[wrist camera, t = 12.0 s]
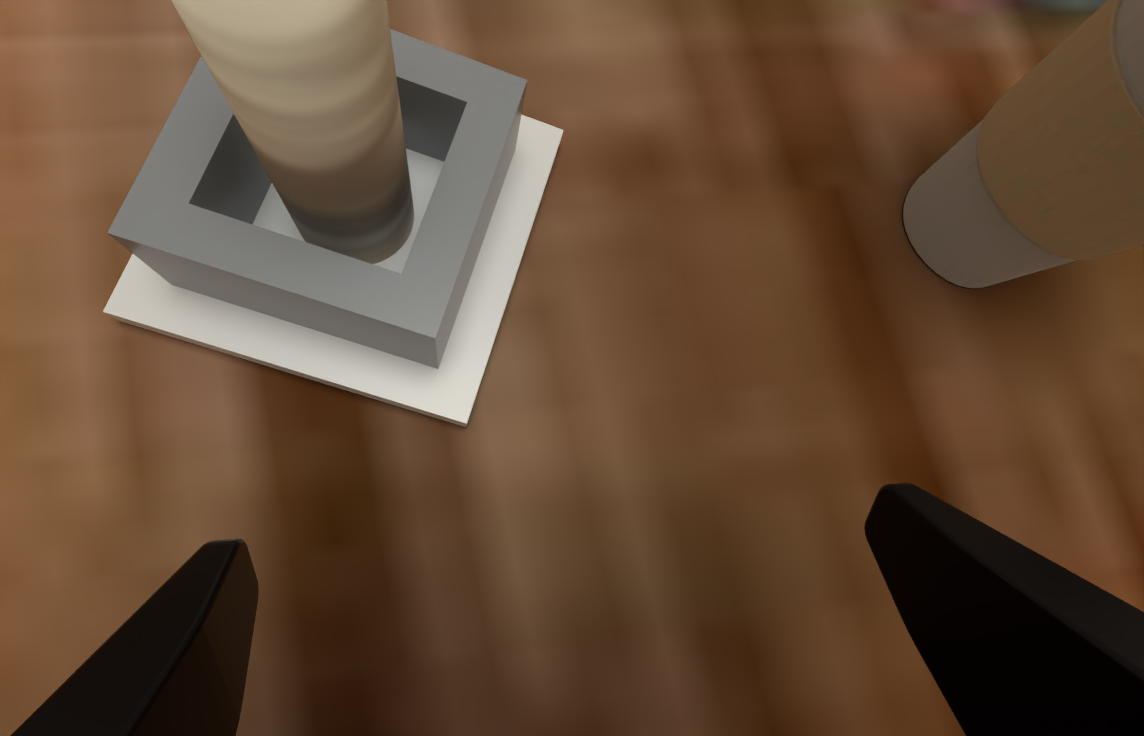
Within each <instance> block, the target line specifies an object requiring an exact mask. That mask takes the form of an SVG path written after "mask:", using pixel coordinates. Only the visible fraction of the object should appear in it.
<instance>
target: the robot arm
mask: <svg viewBox="0 0 1144 736" xmlns="http://www.w3.org/2000/svg"><path fill="white" fill-rule="evenodd" d="M865 535H866V538H867V541H868V543H869V546H870V548H871V550H872V552H873V555H874V557H875V559H876V561H877V564H878V566H879V568H880V571H881V573H882V575H883V577H884V580H885V582H886V584H887V586H888V589H889V591H890V593H891V595H892V598H893V600H894V602H895V604H896V607H897V609H898V611H899V613H900V616H901V618H902V620H903V622H904V624H905V626H906V628H907V630H908V632H909V634H910V636H911V638H912V640H913V642H914V644H915V646H916V647H917V649H918V651H919V653H920V655H921V656H922V658H923V660H924V662H925V664H926V665H927V667H928V669H929V671H930V672H931V674H932V676H933V678H934V680H935V681H936V683H937V685H938V687H939V689H940V690H941V692H942V694H943V696H944V697H945V699H946V701H947V703H948V705H949V706H950V708H951V710H952V712H953V714H954V715H955V717H956V719H957V721H958V722H959V724H960V726H961V728H962V730H963V731H964V733H965V735H966V736H1144V612H1143V611H1141V610H1139V609H1137V608H1135V607H1134V606H1132V605H1130V604H1128V603H1126V602H1125V601H1123V600H1121V599H1119V598H1117V597H1116V596H1114V595H1112V594H1110V593H1108V592H1107V591H1105V590H1103V589H1101V588H1099V587H1098V586H1096V585H1094V584H1092V583H1090V582H1089V581H1087V580H1085V579H1083V578H1081V577H1079V576H1078V575H1076V574H1074V573H1072V572H1070V571H1069V570H1067V569H1065V568H1063V567H1061V566H1060V565H1058V564H1056V563H1054V562H1052V561H1051V560H1049V559H1047V558H1045V557H1043V556H1042V555H1040V554H1038V553H1036V552H1034V551H1033V550H1031V549H1029V548H1027V547H1025V546H1024V545H1022V544H1020V543H1018V542H1016V541H1015V540H1013V539H1011V538H1009V537H1007V536H1006V535H1004V534H1002V533H1000V532H998V531H997V530H995V529H993V528H991V527H989V526H988V525H986V524H984V523H982V522H980V521H979V520H977V519H975V518H973V517H971V516H970V515H968V514H966V513H964V512H962V511H961V510H959V509H957V508H955V507H953V506H952V505H950V504H948V503H946V502H944V501H943V500H941V499H939V498H937V497H935V496H934V495H932V494H930V493H928V492H926V491H925V490H923V489H921V488H919V487H917V486H915V485H913V484H910V483H899V484H887V485H884V486H883V487H882V488H881V489H880V490H879V492H878V494H877V496H876V498H875V501H874V503H873V505H872V507H871V510H870V512H869V514H868V517H867V519H866V522H865ZM257 603H258V581H257V577H256V574H255V571H254V567H253V564H252V561H251V557H250V554H249V551H248V547H247V545H246V543H245V542H244V541H243V540H242V539H227V540H215V541H210V542H207V543H206V544H204V545H203V546H202V547H201V548H200V549H199V550H198V551H197V552H196V553H195V554H194V555H193V556H192V557H190V558H189V559H188V560H187V561H186V562H185V563H184V564H183V565H182V566H181V567H180V568H179V569H178V570H177V571H176V572H175V573H174V574H173V575H172V576H171V577H170V578H169V579H168V580H167V581H166V582H165V583H164V584H163V585H162V586H161V587H160V588H159V589H158V590H157V591H156V592H155V593H154V594H153V595H152V596H151V597H150V598H149V599H148V600H147V601H146V602H145V603H144V604H143V605H142V606H141V607H140V608H139V609H138V610H137V611H136V612H135V613H134V614H133V615H132V616H131V617H130V618H129V619H128V620H127V621H126V622H125V623H124V624H123V625H122V626H121V627H120V628H119V629H118V630H117V631H116V632H115V633H114V634H113V635H112V636H111V637H110V638H109V639H108V640H107V641H106V642H105V643H104V644H103V645H102V646H101V647H100V648H99V649H97V650H96V651H95V652H94V653H93V654H92V655H91V656H90V657H89V658H88V659H87V660H86V661H85V662H84V663H83V664H82V665H81V666H80V667H79V668H78V669H77V670H76V671H75V672H74V673H73V674H72V675H71V676H70V677H69V678H68V679H67V680H66V681H65V682H64V683H63V684H62V685H61V686H60V687H59V688H58V689H57V690H56V691H55V692H54V693H53V694H52V695H51V696H50V697H49V698H48V699H47V700H46V701H45V702H44V703H43V704H42V705H41V706H40V707H39V708H38V709H37V710H36V711H35V712H34V713H33V714H32V715H31V716H30V717H29V718H28V719H27V720H26V721H25V722H24V723H23V724H22V725H21V726H20V727H19V728H18V729H17V730H16V731H15V732H14V733H13V734H12V735H11V736H236V731H237V727H238V723H239V719H240V713H241V707H242V701H243V695H244V688H245V682H246V675H247V669H248V662H249V655H250V649H251V642H252V636H253V629H254V622H255V616H256V609H257Z"/></svg>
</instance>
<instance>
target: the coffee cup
mask: <svg viewBox="0 0 1144 736" xmlns="http://www.w3.org/2000/svg"><path fill="white" fill-rule="evenodd" d="M903 221H904V226H905V231H906V233H907V235H908V238H909V240H910V243H911V244H912V246H913V247H914V249H915V251H916V252H917V254H918V255H919V256H920V257H921V259H922V260H923V261H924V262H925V263H926V264H927V265H928V266H929V267H930V268H931V269H932V270H933V271H934V272H935V273H937V274H938V275H940V276H941V277H943V278H944V279H945V280H947V281H949V282H951V283H954V284H956V285H958V286H962V287H966V288H983V287H987V286H990V285H994V284H997V283H1000V282H1004V281H1007V280H1011V279H1014V278H1018V277H1021V276H1025V275H1028V274H1031V273H1035V272H1038V271H1042V270H1045V269H1049V268H1052V267H1056V266H1059V265H1062V264H1066V263H1069V262H1073V261H1076V260H1094V259H1097V258H1101V257H1104V256H1108V255H1111V254H1115V253H1118V252H1121V251H1125V250H1128V249H1132V248H1135V247H1139V246H1142V245H1144V0H1108V1H1107V2H1106V3H1105V4H1103V5H1102V6H1101V7H1100V8H1099V9H1098V10H1097V11H1096V12H1095V13H1094V14H1092V15H1091V16H1090V17H1089V18H1088V19H1087V20H1086V21H1085V22H1084V23H1083V24H1081V25H1080V26H1079V27H1078V28H1077V29H1076V30H1075V31H1074V32H1073V33H1072V34H1070V35H1069V36H1068V37H1067V38H1066V39H1065V40H1064V41H1063V42H1062V43H1061V44H1060V45H1058V46H1057V47H1056V48H1055V49H1054V50H1053V51H1052V52H1051V53H1050V54H1049V55H1047V56H1046V57H1045V58H1044V59H1043V60H1042V61H1041V62H1040V63H1039V64H1038V65H1036V66H1035V67H1034V68H1033V69H1032V70H1031V71H1030V72H1029V73H1028V74H1027V75H1025V76H1024V77H1023V78H1022V79H1021V80H1020V81H1019V82H1018V83H1017V84H1016V85H1014V86H1013V87H1012V88H1011V89H1010V90H1009V91H1008V92H1007V93H1006V94H1005V95H1004V96H1002V97H1001V98H1000V99H999V100H998V101H997V102H996V103H995V104H994V106H993V107H992V108H991V109H990V110H989V112H988V113H987V114H986V116H985V118H984V119H983V120H982V121H981V122H979V123H978V124H977V125H976V126H975V127H974V128H973V129H972V130H971V131H970V132H968V133H967V134H966V135H965V136H964V137H963V138H962V139H961V140H960V141H959V142H957V143H956V144H955V145H954V146H953V147H952V148H951V149H950V150H949V151H948V152H946V153H945V154H944V155H943V156H942V157H941V158H940V159H939V160H938V161H937V162H935V163H934V164H933V165H932V166H931V167H930V168H929V169H928V170H927V171H926V172H924V173H923V174H922V175H921V176H920V177H919V178H918V179H917V180H916V182H915V183H914V184H913V185H912V187H911V188H910V190H909V192H908V194H907V196H906V199H905V203H904V207H903Z"/></svg>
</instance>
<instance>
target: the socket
mask: <svg viewBox="0 0 1144 736" xmlns="http://www.w3.org/2000/svg"><path fill="white" fill-rule="evenodd" d="M390 32H391V39H392V47H393V55H394V62H395V70H396V77H397V85H398V93H399V100H400V108H401V116H402V123H403V131H404V138H405V146H406V154H407V161H408V169H409V176H410V184H411V192H412V199H413V207H414V223H413V227H412V231H411V233H410V235H409V237H408V239H407V241H406V242H405V244H404V245H403V246H402V247H401V248H400V249H399V250H398V251H397V252H396V253H395V254H393V255H392V256H390V257H389V258H387V259H385V260H383V261H381V262H378V263H375V264H370V263H367V262H364V261H361V260H358V259H355V258H352V257H349V256H346V255H343V254H340V253H337V252H334V251H331V250H328V249H325V248H322V247H319V246H316V245H313V244H310V243H307V242H305V241H304V239H303V238H302V236H301V234H300V232H299V231H298V229H297V227H296V225H295V223H294V222H293V220H292V218H291V216H290V214H289V212H288V211H287V209H286V207H285V205H284V203H283V202H282V200H281V198H280V196H279V194H278V193H277V191H276V189H275V187H274V185H273V184H272V182H271V180H270V178H269V176H268V174H267V173H266V171H265V169H264V167H263V165H262V164H261V162H260V160H259V158H258V156H257V155H256V153H255V151H254V149H253V147H252V145H251V144H250V142H249V140H248V138H247V136H246V135H245V133H244V131H243V129H242V127H241V126H240V124H239V122H238V120H237V118H236V117H235V115H234V113H233V111H232V109H231V107H230V106H229V104H228V102H227V100H226V98H225V97H224V95H223V93H222V91H221V89H220V88H219V86H218V84H217V82H216V80H215V79H214V77H213V75H212V73H211V71H210V69H209V68H208V66H207V64H206V62H205V60H204V59H203V57H202V56H201V57H200V59H199V61H198V63H197V65H196V67H195V69H194V71H193V72H192V74H191V76H190V78H189V80H188V82H187V84H186V86H185V88H184V89H183V91H182V93H181V95H180V97H179V99H178V101H177V103H176V105H175V106H174V108H173V110H172V112H171V114H170V116H169V118H168V120H167V121H166V123H165V125H164V127H163V129H162V131H161V133H160V135H159V137H158V138H157V140H156V142H155V144H154V146H153V148H152V150H151V152H150V154H149V155H148V157H147V159H146V161H145V163H144V165H143V167H142V169H141V170H140V172H139V174H138V176H137V178H136V180H135V182H134V184H133V186H132V187H131V189H130V191H129V193H128V195H127V197H126V199H125V201H124V203H123V204H122V206H121V208H120V210H119V212H118V214H117V216H116V218H115V219H114V221H113V223H112V225H111V227H110V229H109V231H108V234H109V235H110V236H112V237H113V238H114V239H115V240H117V241H118V242H119V243H120V244H122V245H123V246H124V247H125V248H127V249H128V250H129V251H130V252H132V253H133V254H132V256H131V258H130V260H129V262H128V264H127V266H126V268H125V270H124V272H123V274H122V276H121V277H120V279H119V281H118V283H117V285H116V287H115V289H114V291H113V293H112V295H111V297H110V299H109V301H108V303H107V305H106V307H105V309H104V311H103V312H104V313H106V314H108V315H110V316H111V317H113V318H115V319H117V320H118V321H121V322H125V323H128V324H131V325H134V326H138V327H141V328H144V329H147V330H151V331H154V332H157V333H160V334H164V335H167V336H170V337H173V338H177V339H180V340H183V341H186V342H190V343H193V344H196V345H199V346H203V347H206V348H209V349H212V350H216V351H219V352H222V353H226V354H229V355H232V356H235V357H239V358H242V359H245V360H248V361H252V362H255V363H258V364H261V365H265V366H268V367H271V368H274V369H278V370H281V371H284V372H287V373H291V374H294V375H297V376H300V377H304V378H307V379H310V380H313V381H317V382H320V383H323V384H326V385H330V386H333V387H336V388H339V389H343V390H346V391H349V392H352V393H356V394H359V395H362V396H365V397H369V398H372V399H375V400H378V401H382V402H385V403H388V404H392V405H395V406H398V407H401V408H405V409H408V410H411V411H414V412H418V413H421V414H424V415H427V416H431V417H434V418H437V419H440V420H444V421H447V422H450V423H453V424H457V425H460V426H463V427H466V426H467V423H468V420H469V417H470V414H471V411H472V408H473V405H474V402H475V399H476V396H477V393H478V390H479V387H480V384H481V381H482V378H483V375H484V372H485V369H486V366H487V363H488V360H489V357H490V354H491V351H492V347H493V344H494V341H495V338H496V335H497V332H498V329H499V326H500V323H501V320H502V317H503V314H504V311H505V308H506V305H507V302H508V299H509V296H510V293H511V290H512V287H513V284H514V281H515V278H516V275H517V272H518V269H519V266H520V263H521V260H522V257H523V254H524V250H525V247H526V244H527V241H528V238H529V235H530V232H531V229H532V226H533V223H534V220H535V217H536V214H537V211H538V208H539V205H540V202H541V199H542V196H543V193H544V190H545V187H546V184H547V181H548V178H549V175H550V172H551V169H552V166H553V163H554V160H555V157H556V153H557V150H558V147H559V144H560V141H561V138H562V134H563V131H564V130H562V129H559V128H556V127H554V126H551V125H548V124H545V123H543V122H540V121H537V120H535V119H532V118H529V117H526V116H524V115H521V114H522V108H523V103H524V97H525V91H526V86H527V80H525V79H523V78H520V77H517V76H515V75H512V74H509V73H507V72H504V71H501V70H499V69H496V68H493V67H491V66H488V65H485V64H483V63H480V62H477V61H475V60H472V59H469V58H467V57H464V56H461V55H459V54H456V53H453V52H451V51H448V50H445V49H442V48H440V47H437V46H434V45H432V44H429V43H426V42H424V41H421V40H418V39H416V38H413V37H410V36H408V35H405V34H402V33H400V32H397V31H394V30H392V29H390Z"/></svg>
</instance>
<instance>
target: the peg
mask: <svg viewBox="0 0 1144 736" xmlns="http://www.w3.org/2000/svg"><path fill="white" fill-rule="evenodd" d="M171 1H172V2H173V4H174V6H175V8H176V10H177V12H178V13H179V15H180V17H181V19H182V21H183V22H184V24H185V26H186V28H187V30H188V31H189V33H190V35H191V37H192V39H193V40H194V42H195V44H196V46H197V48H198V50H199V51H200V53H201V55H202V57H203V59H204V60H205V62H206V64H207V66H208V68H209V69H210V71H211V73H212V75H213V77H214V79H215V80H216V82H217V84H218V86H219V88H220V89H221V91H222V93H223V95H224V97H225V98H226V100H227V102H228V104H229V106H230V107H231V109H232V111H233V113H234V115H235V117H236V118H237V120H238V122H239V124H240V126H241V127H242V129H243V131H244V133H245V135H246V136H247V138H248V140H249V142H250V144H251V145H252V147H253V149H254V151H255V153H256V155H257V156H258V158H259V160H260V162H261V164H262V165H263V167H264V169H265V171H266V173H267V174H268V176H269V178H270V180H271V182H272V184H273V185H274V187H275V189H276V191H277V193H278V194H279V196H280V198H281V200H282V202H283V203H284V205H285V207H286V209H287V211H288V212H289V214H290V216H291V218H292V220H293V222H294V223H295V225H296V227H297V229H298V231H299V232H300V234H301V236H302V238H303V239H304V241H305V242H307V243H310V244H313V245H316V246H319V247H322V248H325V249H328V250H331V251H334V252H337V253H340V254H343V255H346V256H349V257H352V258H355V259H358V260H361V261H364V262H367V263H370V264H375V263H378V262H381V261H383V260H385V259H387V258H389V257H390V256H392V255H393V254H395V253H396V252H397V251H398V250H399V249H400V248H401V247H402V246H403V245H404V244H405V242H406V241H407V239H408V237H409V235H410V233H411V231H412V227H413V223H414V207H413V199H412V192H411V184H410V176H409V169H408V161H407V154H406V146H405V138H404V131H403V123H402V116H401V108H400V100H399V93H398V85H397V77H396V70H395V62H394V55H393V47H392V39H391V32H390V24H389V17H388V9H387V1H386V0H171Z"/></svg>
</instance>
